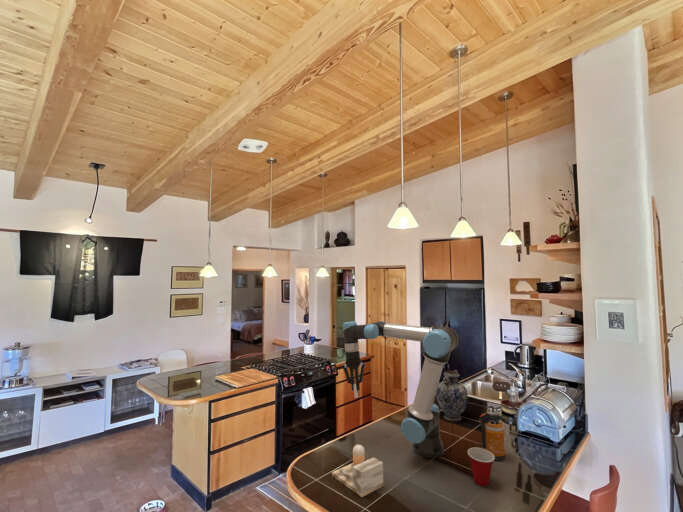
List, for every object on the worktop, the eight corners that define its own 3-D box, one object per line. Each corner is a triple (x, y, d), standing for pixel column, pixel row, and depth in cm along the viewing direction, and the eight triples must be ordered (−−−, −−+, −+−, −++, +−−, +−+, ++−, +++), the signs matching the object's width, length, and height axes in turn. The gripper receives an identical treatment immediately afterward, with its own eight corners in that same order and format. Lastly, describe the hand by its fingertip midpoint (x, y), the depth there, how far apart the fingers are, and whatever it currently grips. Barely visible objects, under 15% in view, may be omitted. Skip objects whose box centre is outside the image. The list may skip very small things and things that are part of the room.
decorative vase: (443, 409, 231) (442, 365, 233) (472, 415, 220) (471, 370, 222) (431, 420, 214) (430, 373, 215) (462, 427, 203) (461, 378, 204)
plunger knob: (350, 477, 151) (350, 444, 151) (359, 473, 154) (359, 441, 155) (358, 483, 146) (357, 449, 147) (367, 478, 150) (367, 445, 151)
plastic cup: (488, 493, 141) (487, 462, 142) (463, 482, 149) (462, 453, 150) (500, 482, 148) (499, 453, 149) (476, 472, 156) (474, 444, 157)
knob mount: (331, 475, 155) (331, 453, 156) (352, 466, 163) (352, 445, 163) (361, 497, 140) (361, 472, 140) (383, 485, 147) (382, 462, 148)
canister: (507, 462, 164) (506, 418, 166) (482, 460, 166) (481, 416, 168) (503, 453, 173) (501, 411, 174) (479, 451, 175) (477, 409, 177)
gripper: (365, 349, 190) (370, 394, 186) (342, 350, 194) (346, 395, 190) (362, 351, 183) (367, 398, 179) (338, 352, 186) (342, 399, 183)
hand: (356, 396), depth 185 cm, fingers closed
